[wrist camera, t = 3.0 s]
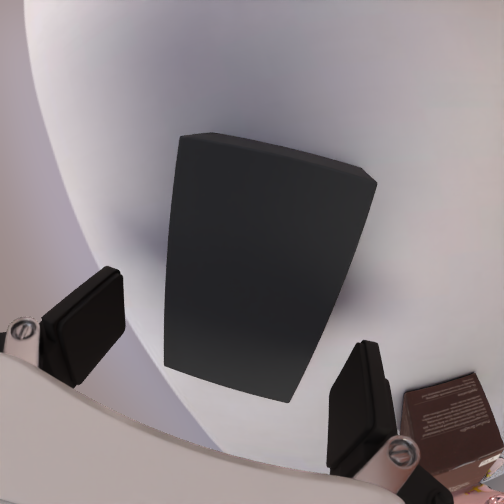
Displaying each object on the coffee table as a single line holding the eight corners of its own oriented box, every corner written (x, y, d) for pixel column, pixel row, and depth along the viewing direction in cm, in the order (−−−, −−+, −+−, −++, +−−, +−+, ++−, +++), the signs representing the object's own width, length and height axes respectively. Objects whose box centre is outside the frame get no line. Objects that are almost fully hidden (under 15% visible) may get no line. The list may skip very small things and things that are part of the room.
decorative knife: (510, 463, 20) (483, 480, 22) (509, 460, 21) (483, 478, 23) (493, 453, 19) (460, 474, 21) (492, 450, 19) (459, 471, 21)
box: (397, 431, 19) (403, 505, 13) (403, 389, 17) (416, 479, 11) (462, 415, 17) (478, 484, 11) (477, 369, 15) (507, 449, 9)
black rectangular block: (210, 132, 13) (179, 135, 10) (362, 168, 12) (378, 182, 9) (185, 329, 18) (163, 366, 15) (295, 361, 18) (288, 404, 15)
